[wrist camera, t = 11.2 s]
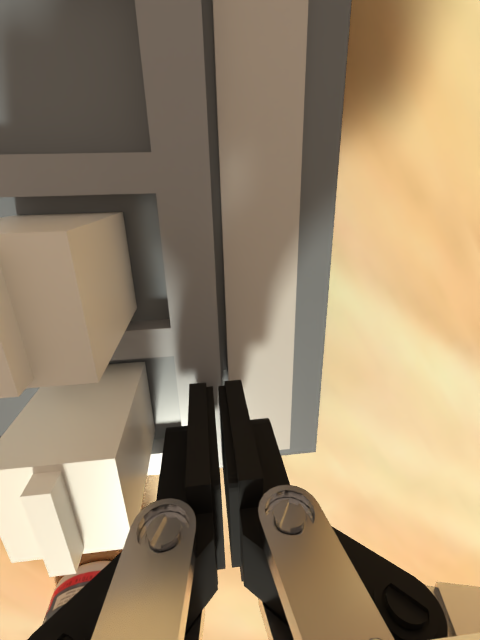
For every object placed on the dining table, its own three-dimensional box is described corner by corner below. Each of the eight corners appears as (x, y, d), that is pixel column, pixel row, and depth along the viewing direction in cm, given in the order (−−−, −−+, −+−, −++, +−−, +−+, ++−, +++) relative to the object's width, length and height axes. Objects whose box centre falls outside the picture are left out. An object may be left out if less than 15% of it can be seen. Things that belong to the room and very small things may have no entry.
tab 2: (144, 361, 12) (108, 480, 7) (155, 430, 13) (129, 572, 8) (55, 368, 11) (-46, 496, 7) (73, 438, 13) (-2, 589, 8)
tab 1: (122, 212, 10) (51, 236, 5) (136, 307, 11) (89, 400, 6) (14, 215, 10) (-167, 244, 5) (41, 313, 11) (-85, 414, 6)
